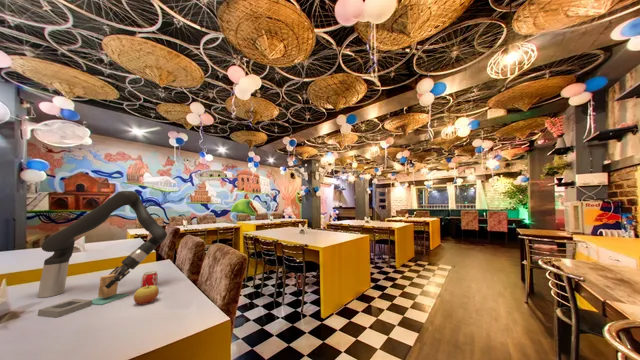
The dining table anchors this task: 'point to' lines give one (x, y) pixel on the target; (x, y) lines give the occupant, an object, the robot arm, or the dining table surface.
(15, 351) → the dining table surface
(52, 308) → the frame
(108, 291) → the oak block
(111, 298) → the teal mat
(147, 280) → the soda can
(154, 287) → the apple
